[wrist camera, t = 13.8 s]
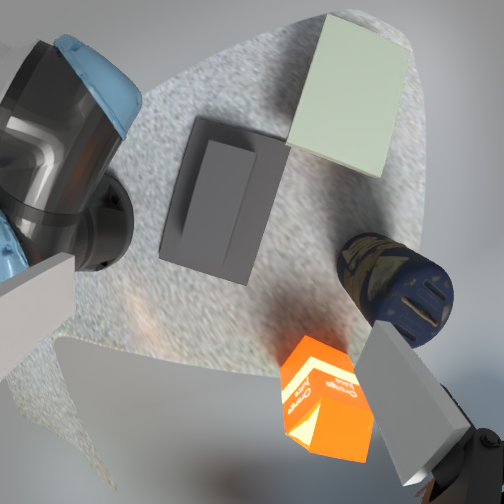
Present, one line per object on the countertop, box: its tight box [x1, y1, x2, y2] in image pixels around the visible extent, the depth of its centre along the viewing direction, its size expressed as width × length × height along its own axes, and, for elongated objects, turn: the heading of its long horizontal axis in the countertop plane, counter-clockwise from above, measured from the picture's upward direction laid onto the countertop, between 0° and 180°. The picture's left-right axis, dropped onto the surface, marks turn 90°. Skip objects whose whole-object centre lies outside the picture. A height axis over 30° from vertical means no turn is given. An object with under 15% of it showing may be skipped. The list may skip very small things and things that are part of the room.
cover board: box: [285, 14, 410, 178], centre depth 28 cm, size 11×18×2 cm, turn 163°
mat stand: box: [159, 118, 291, 286], centre depth 35 cm, size 13×20×6 cm, turn 163°
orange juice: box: [280, 335, 374, 462], centre depth 34 cm, size 8×9×20 cm
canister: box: [337, 233, 454, 349], centre depth 31 cm, size 10×10×18 cm
